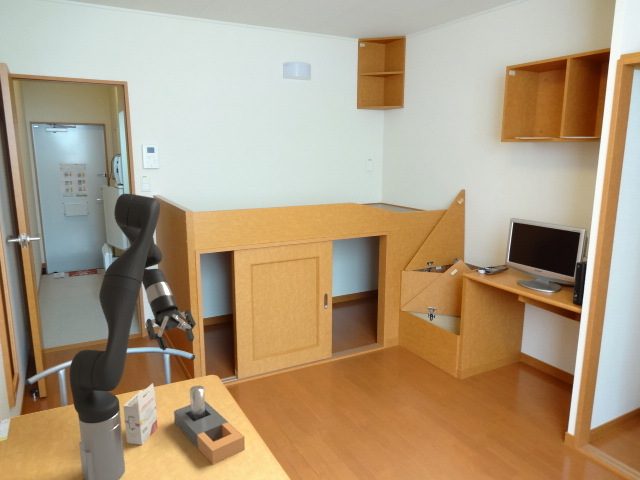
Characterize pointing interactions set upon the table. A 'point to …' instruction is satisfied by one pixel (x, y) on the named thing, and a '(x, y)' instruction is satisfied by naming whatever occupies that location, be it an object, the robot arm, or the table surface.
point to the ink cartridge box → (140, 416)
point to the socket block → (210, 433)
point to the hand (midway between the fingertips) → (178, 345)
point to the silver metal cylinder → (197, 403)
